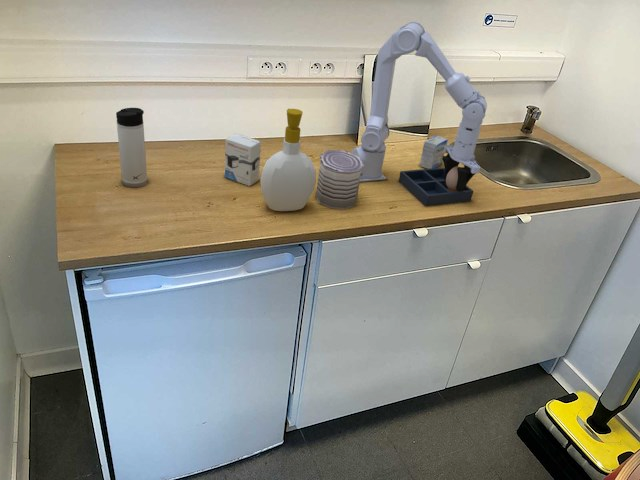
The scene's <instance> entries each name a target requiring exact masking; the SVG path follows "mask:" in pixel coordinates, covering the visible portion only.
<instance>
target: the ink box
mask: <svg viewBox="0 0 640 480" xmlns="http://www.w3.org/2000/svg"><path fill="white" fill-rule="evenodd" d="M224 148H225V152H224V153H225V154H224V157H225V158H224V178H225V179H229V180H231V181H234V182H237V183H238V184H239V183H240V184H242V185H245V186H248V187H250V186H252V185H254V184H255V183H257V182H258V181H260V168H261V167H260V163H261V148H262V142H261V140H258V139H256V138H255V139H254V138H251V137H248V136H245V135H244V134H243V135H242V134H240V133H234V134H232V135H230V136H228V137H226V138H225V146H224Z"/></svg>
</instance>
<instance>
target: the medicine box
mask: <svg viewBox="0 0 640 480" xmlns="http://www.w3.org/2000/svg"><path fill="white" fill-rule="evenodd" d="M448 141H449V140H448V138H445V137H444V136H440V135H434V136H432V137H430V138H429V139H427V140H425V141H424V143H423V147H422V152H421V156H420V161H419V167H421V168H422V169H433V168H438V167H440V165H442V164H443V159H442V157H443V156H445V154H446V153H445V152H443V151H444V147H445V145H448Z"/></svg>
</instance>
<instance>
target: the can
mask: <svg viewBox="0 0 640 480" xmlns="http://www.w3.org/2000/svg"><path fill="white" fill-rule="evenodd" d="M319 159H320V161H319V169H318V177H317V184H316V185H317V186H316V193H315V199H316V200H317V201H318V203H319V204H320V205H322V206H324V207H327V208H329V209H333V210H347V209H350V208H353V207H355V205H356V203H357V201H358V195H359V189H360V184H361V182H360V178H361V172H362V167H363V166H364V164H363V162H362V161H361V159H360V158H359V157H358V156H356V155H354V154H351V152H349V151H346V150H342V149H341V150H339V149H337V150H336V149H327V150H325V151H324V152H323V153H322V154H320V155H319Z"/></svg>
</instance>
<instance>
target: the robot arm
mask: <svg viewBox="0 0 640 480" xmlns="http://www.w3.org/2000/svg"><path fill="white" fill-rule="evenodd" d="M415 51H416V52H415ZM414 52H415V53H414ZM411 53H414V56H416V57H421V58H425V59H427V60H428V62H429V63H430V64H431V66H432V67H433V68H434V69H435V70H436V71H437V73H438V74H439V75H440V76H441V77H442V79H444V80H445V81H444V82H445V84H444V89H445V90H446V91H447V93H448V94H449V96H450V97H451V98H452V100H453V101H454V103H456V105H457V106H458V107H459V108H460V109H462V110H461V116H462V117H461V120H460V122H459V125H458V129H457V132H456V136H455V140H454V144H453V145H451V144H447V145H445V147H444V151H443V152H445V154H446V155H444V156H443V157H442V159H443V162H442V164H443V168H445V181H446V177H447V174H448V172H449V171H450V170H451V169H452V168H454V167H457V166H458V167H459V168H457V170H458V181H457V186H456V190H457V191H461V190H464V188H465V186H466V185H467V186H468V183H469V182H470V180H472V178H473V177H474V176H475V175H476V174H479V173H480V171H481V166H480V165H479V163H477V161H476V160H475V158H476V155H475V150H476V146H477V144H478V141H479V136H480V134H481V130H482V125H483V120H484V119H485V117H486V112H487V108H488V103H487V100H486V98H485V96H483V95H482V94H481V93H480V91H477V90H476V89H475V87H474V86H473V85H472V84H471V82H470V81H471V78H470V76H469V75H465V74H464V73H462V72H457V71H455V69H454V68H453V66H452V65H451V63H450V62H449V60H448V59H447V57H446V56H445V54H444V53H443V51H442V49H441V48H440V47H439V46H438V44H437V43H436V41H435V39H434V38H433V37H432V35H431V33H429V32H428V31H427V30H425V27H424V26H423V25H422V24H421V23H420V22H417V21H411V22H408V23H406V24H405V25H403V26H401V27H399V28H398V29H397V30H396V31H395V32H393V33H392V34H391V36H390V37H389V38H388V39H387V40H386V41H385V42H384V44H383V45H382V46H381V47H380V48H379V49H378V52H377V57H376V58H377V59H376V67H375V74H374V82H373V89H372V96H371V104H370V111H369V117H368V119H367V122H366V125H365V130H364V132H363V133H362V135H361V137H360V143H361V144H360V145H359V146H358V147H354V148H352V149H351V151H350V153H351V154H354V155H356V156H358V157H359V158H360V159H361V161H362V162H363V164H364V166H363V167H362V172H361V178H360V183H362V182H372V181H373V182H374V181H383V180H387V177H386V176H385V175H384V174H383V173H382V171H383V165H384V161H385V155H386V150H387V147H386V143H385V141H386V140H387V139H388V138H389V136H390V131H391V130H390V126H389V114H388V113H389V109H390V101H391V95H392V87H393V83H394V82H393V81H394V75H395V70H396V69H395V67H396V61H397V60H398V59H399V58H400V57H402V56H404V55H408V54H411ZM460 164H461V165H463V166H459V165H460Z"/></svg>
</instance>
